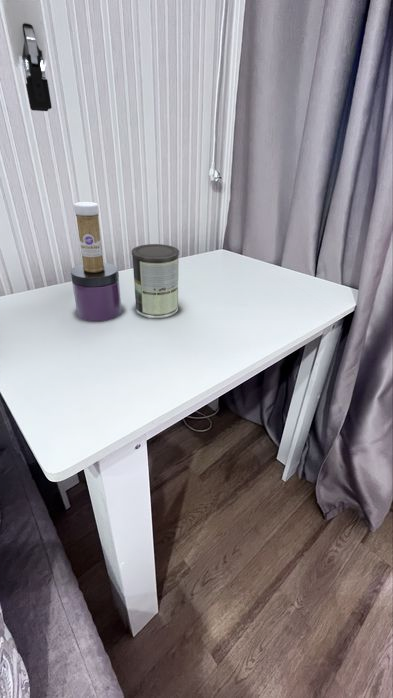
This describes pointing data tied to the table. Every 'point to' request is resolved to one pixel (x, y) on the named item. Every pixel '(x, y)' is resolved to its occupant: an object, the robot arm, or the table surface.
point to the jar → (98, 301)
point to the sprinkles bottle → (89, 236)
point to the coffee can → (156, 280)
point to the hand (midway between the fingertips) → (40, 109)
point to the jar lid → (94, 276)
